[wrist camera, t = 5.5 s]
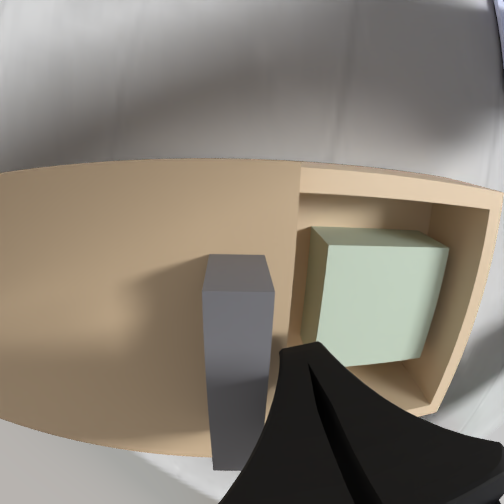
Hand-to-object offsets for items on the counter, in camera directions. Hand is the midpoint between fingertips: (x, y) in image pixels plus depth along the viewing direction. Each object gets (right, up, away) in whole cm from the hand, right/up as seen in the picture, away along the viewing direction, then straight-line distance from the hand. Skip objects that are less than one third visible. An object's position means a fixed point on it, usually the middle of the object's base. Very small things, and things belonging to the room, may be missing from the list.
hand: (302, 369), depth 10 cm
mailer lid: (-9, +1, +1) cm, 9 cm away
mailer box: (+1, +2, +7) cm, 7 cm away
